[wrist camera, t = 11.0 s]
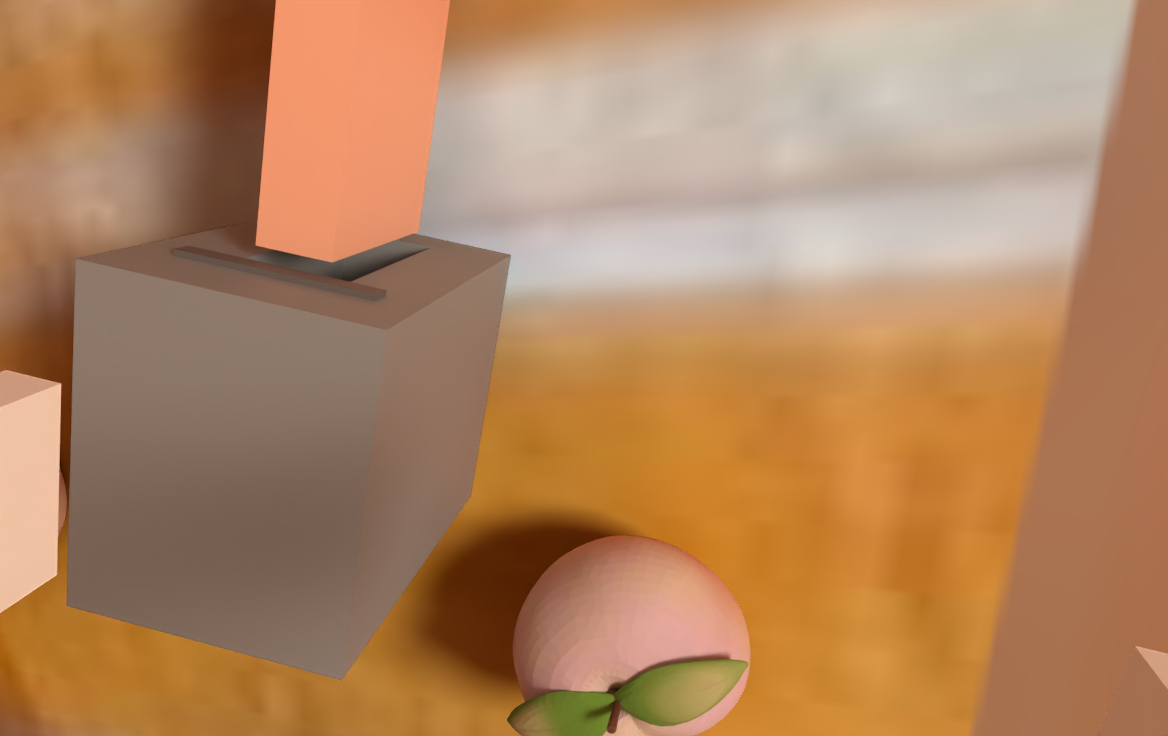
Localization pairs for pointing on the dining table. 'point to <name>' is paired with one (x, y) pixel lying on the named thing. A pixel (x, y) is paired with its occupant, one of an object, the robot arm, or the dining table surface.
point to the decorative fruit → (628, 644)
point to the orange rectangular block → (348, 123)
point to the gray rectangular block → (272, 434)
